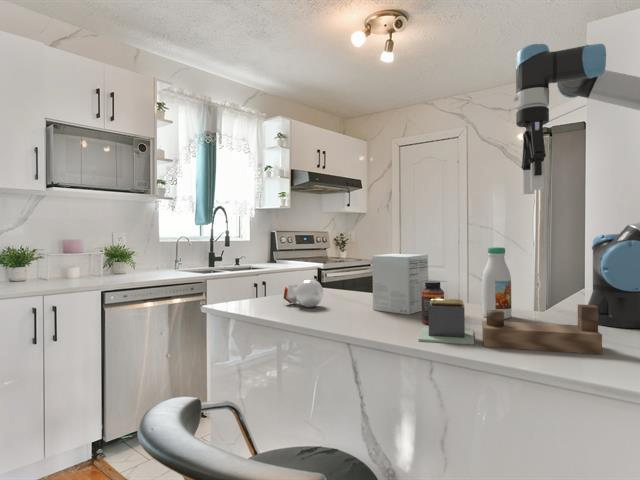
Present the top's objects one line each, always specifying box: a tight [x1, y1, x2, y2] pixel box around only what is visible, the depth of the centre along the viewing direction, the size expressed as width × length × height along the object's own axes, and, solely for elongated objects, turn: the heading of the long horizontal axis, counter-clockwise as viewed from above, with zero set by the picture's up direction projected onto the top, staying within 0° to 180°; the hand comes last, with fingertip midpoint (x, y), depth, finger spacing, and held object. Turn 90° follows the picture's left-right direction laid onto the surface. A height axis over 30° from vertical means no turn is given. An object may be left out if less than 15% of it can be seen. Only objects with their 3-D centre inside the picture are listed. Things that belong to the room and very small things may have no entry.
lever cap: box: [428, 298, 466, 338], centre depth 101 cm, size 8×5×8 cm, turn 72°
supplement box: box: [371, 253, 429, 315], centre depth 136 cm, size 13×13×18 cm
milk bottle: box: [481, 246, 512, 320], centre depth 123 cm, size 8×8×20 cm
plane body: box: [482, 304, 603, 355], centre depth 93 cm, size 22×8×9 cm, turn 72°
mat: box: [417, 326, 475, 346], centre depth 102 cm, size 12×12×1 cm
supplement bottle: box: [421, 280, 445, 325], centre depth 116 cm, size 6×6×11 cm
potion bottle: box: [283, 278, 325, 308], centre depth 145 cm, size 9×10×15 cm
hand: (532, 192), depth 110 cm, fingers open, 13 cm apart
